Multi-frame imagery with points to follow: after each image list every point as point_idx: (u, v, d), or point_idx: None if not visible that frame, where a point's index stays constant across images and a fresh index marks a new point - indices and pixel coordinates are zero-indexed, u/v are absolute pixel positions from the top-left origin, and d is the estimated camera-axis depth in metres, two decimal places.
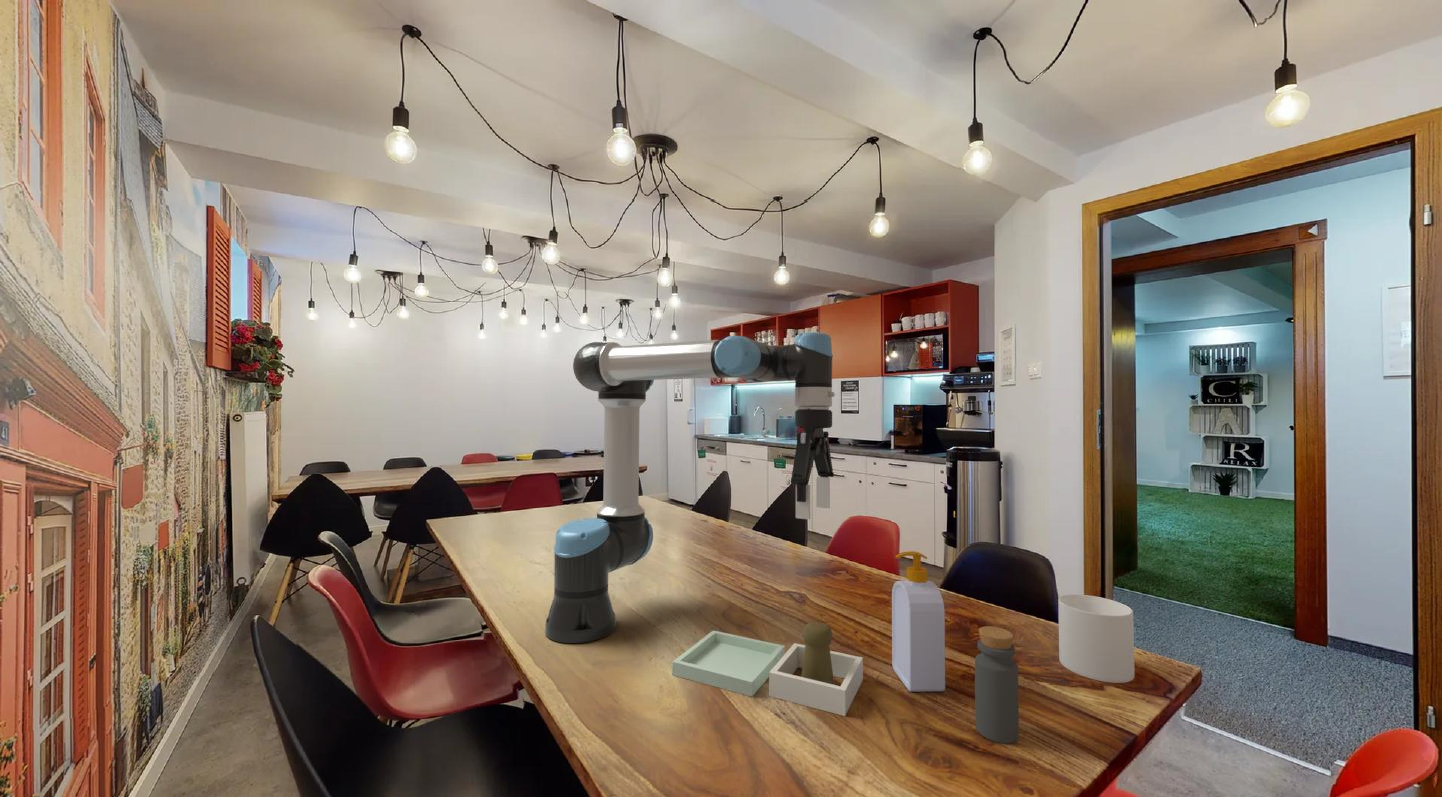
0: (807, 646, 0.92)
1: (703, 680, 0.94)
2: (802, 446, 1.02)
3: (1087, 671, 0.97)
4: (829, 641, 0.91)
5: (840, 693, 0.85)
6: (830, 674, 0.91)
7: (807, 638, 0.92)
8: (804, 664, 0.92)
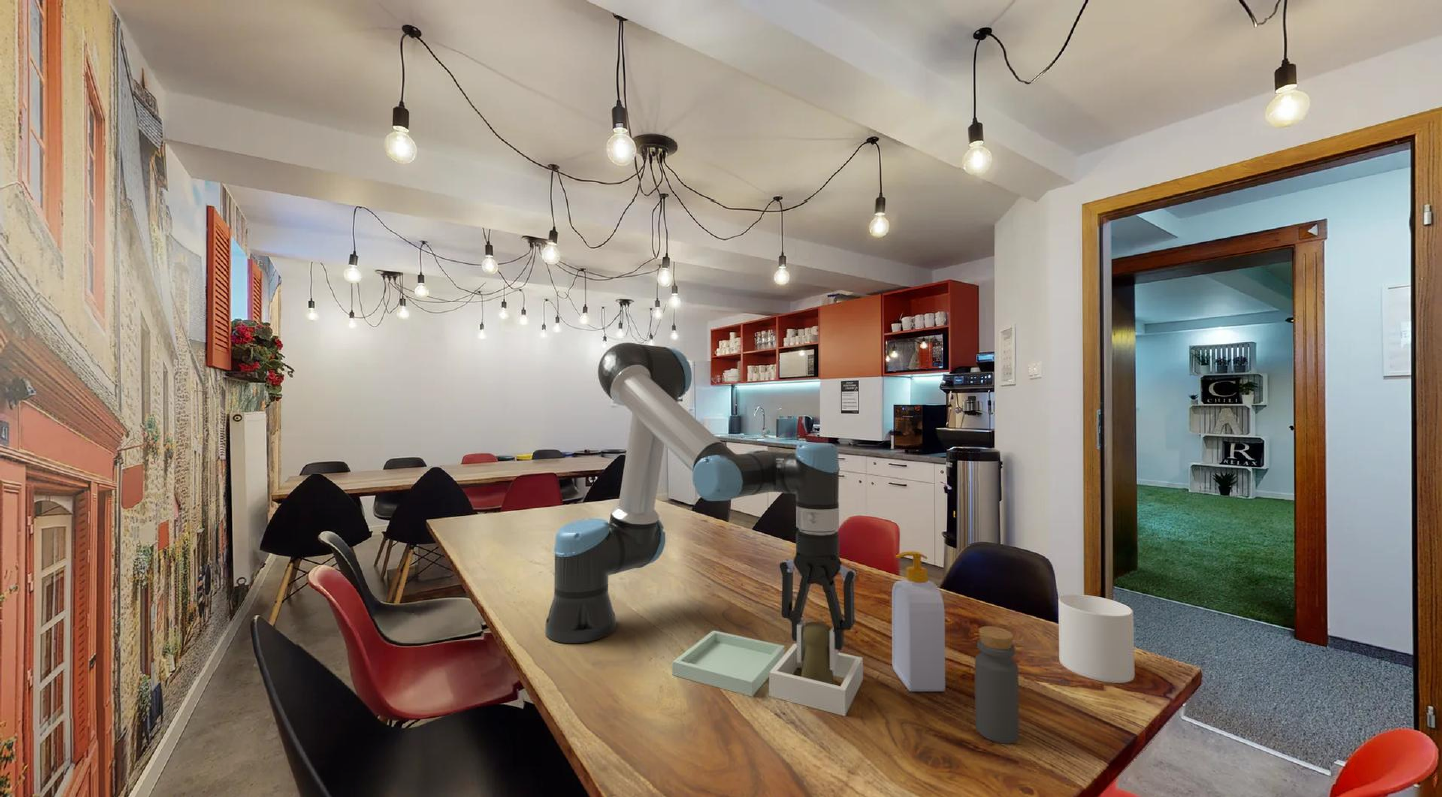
0: (807, 646, 0.92)
1: (703, 680, 0.94)
2: None
3: (1087, 671, 0.97)
4: (829, 641, 0.91)
5: (840, 693, 0.85)
6: (830, 674, 0.91)
7: (807, 638, 0.92)
8: (804, 664, 0.92)
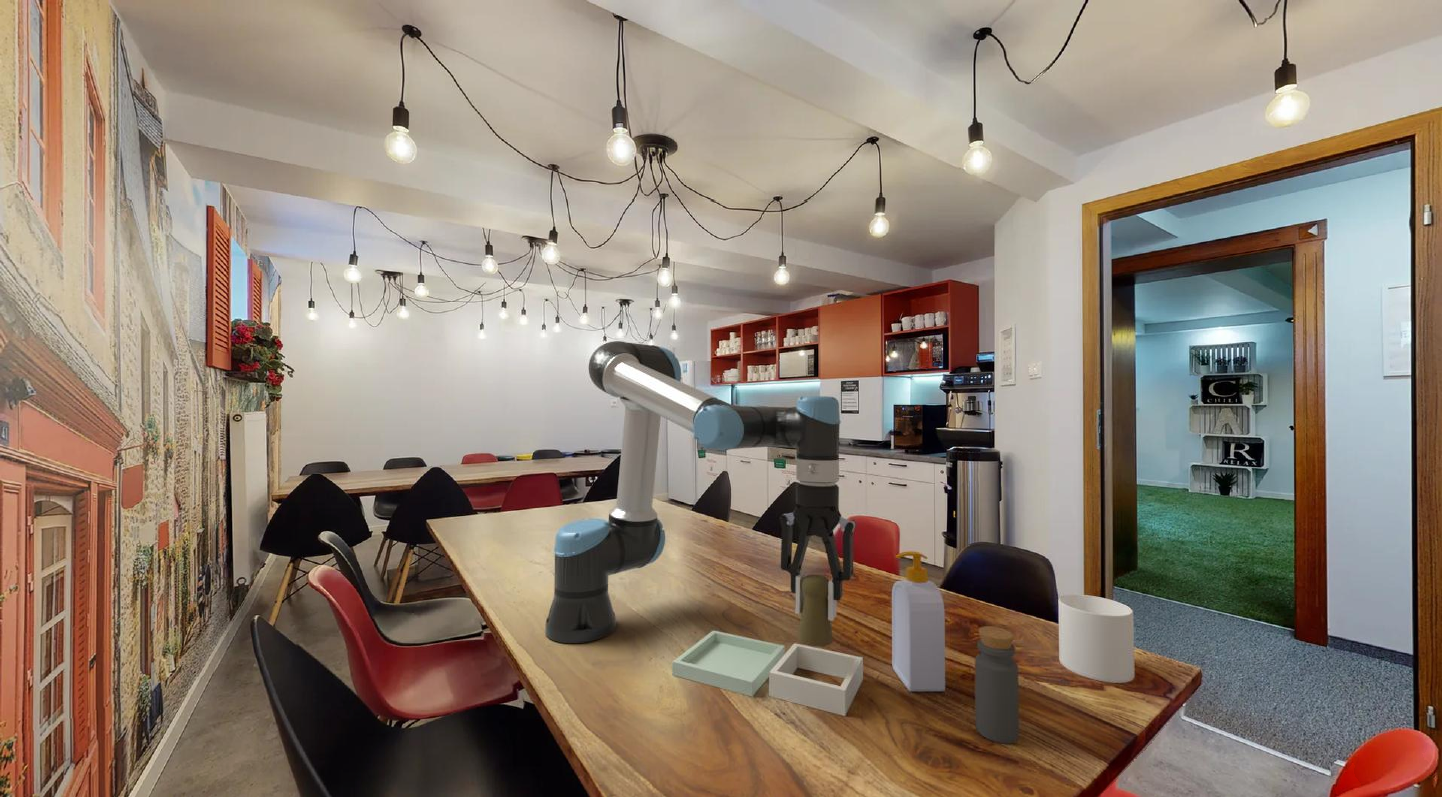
0: (806, 597, 0.93)
1: (703, 680, 0.94)
2: None
3: (1087, 671, 0.97)
4: None
5: (840, 693, 0.85)
6: (828, 625, 0.92)
7: (805, 589, 0.92)
8: (802, 615, 0.93)
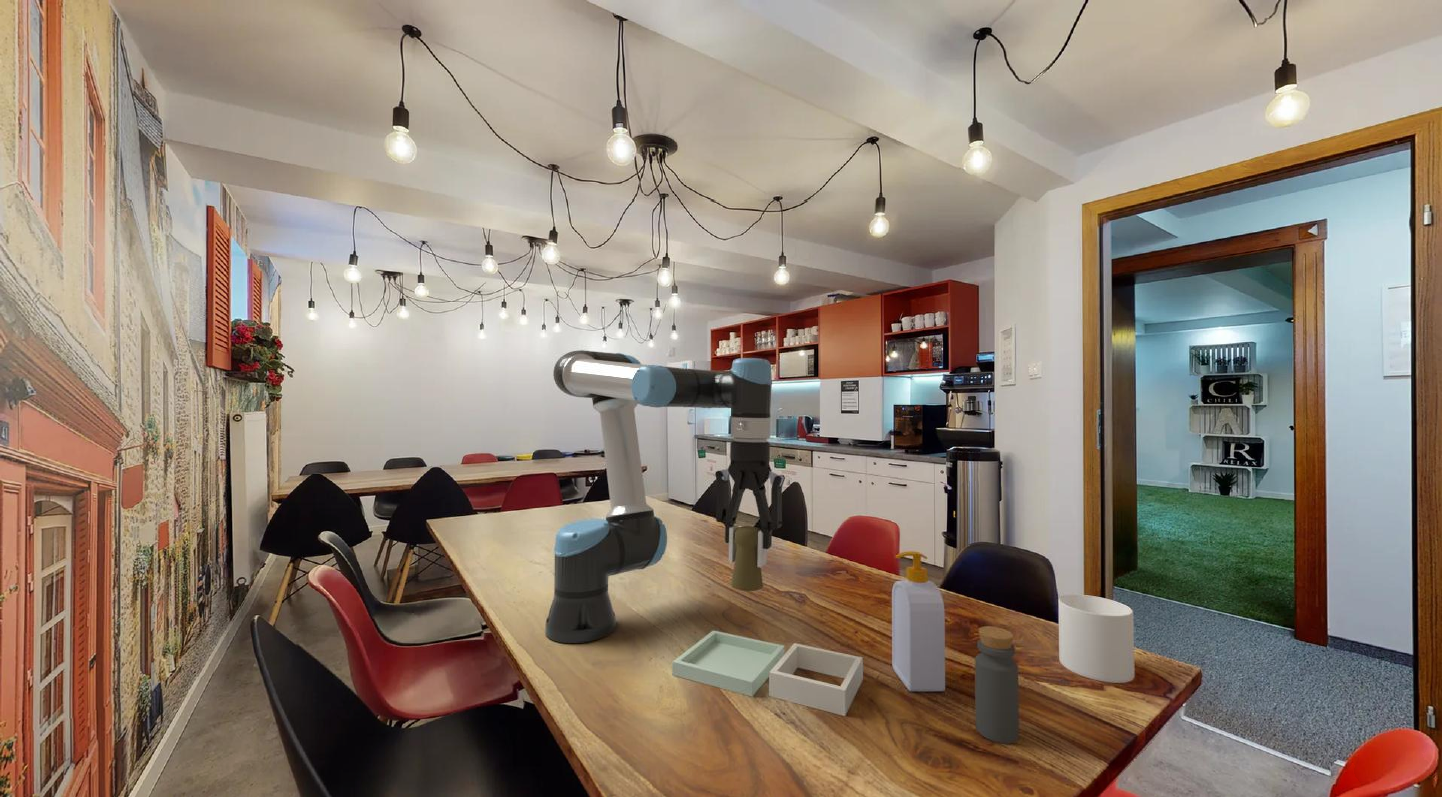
0: (738, 546, 0.99)
1: (703, 680, 0.94)
2: None
3: (1087, 671, 0.97)
4: None
5: (840, 693, 0.85)
6: (758, 571, 0.98)
7: (737, 538, 0.98)
8: (735, 563, 0.99)
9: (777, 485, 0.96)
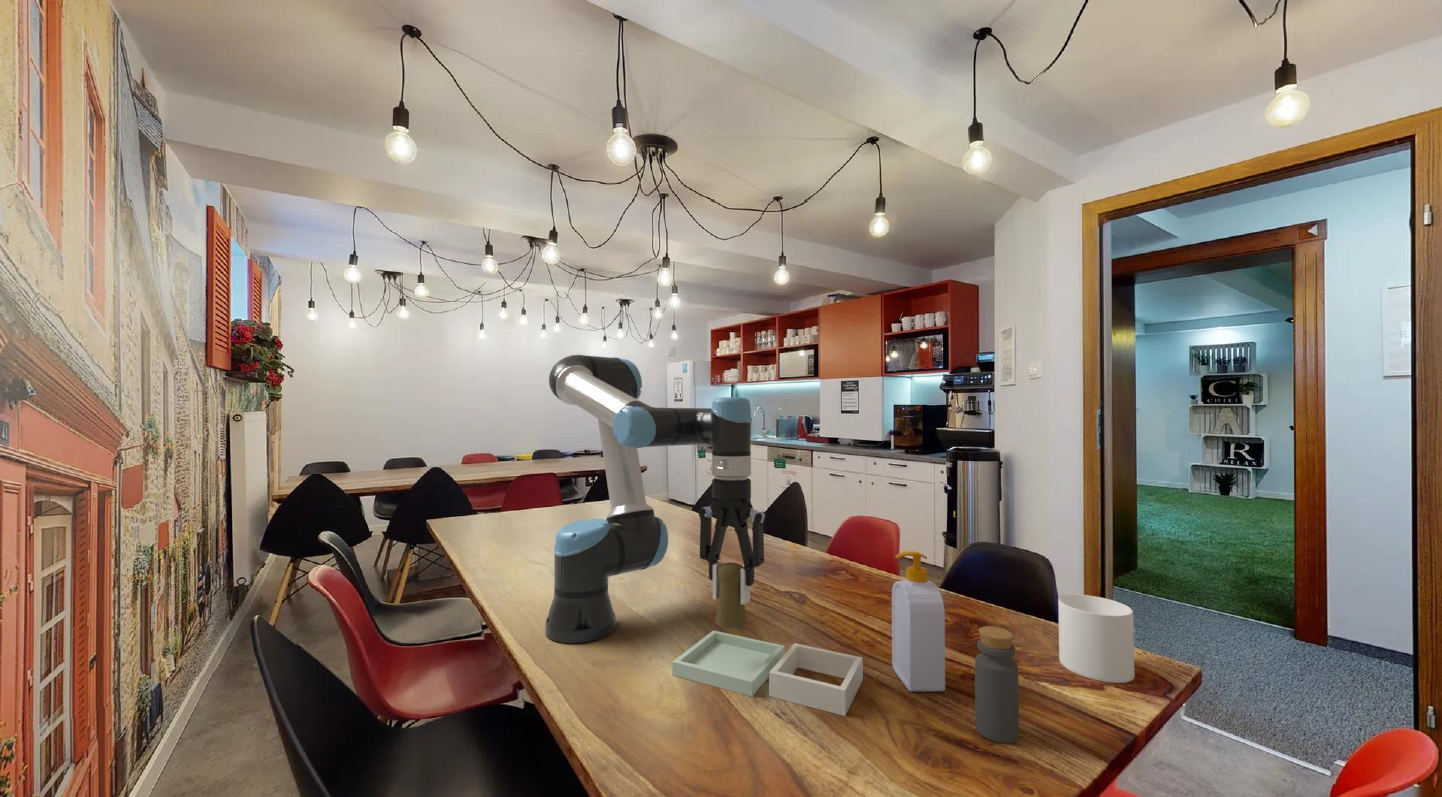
0: (721, 583, 1.00)
1: (703, 680, 0.94)
2: None
3: (1087, 671, 0.97)
4: (740, 578, 0.99)
5: (840, 693, 0.85)
6: (741, 608, 0.99)
7: (720, 575, 0.99)
8: (718, 600, 1.00)
9: (758, 522, 0.98)
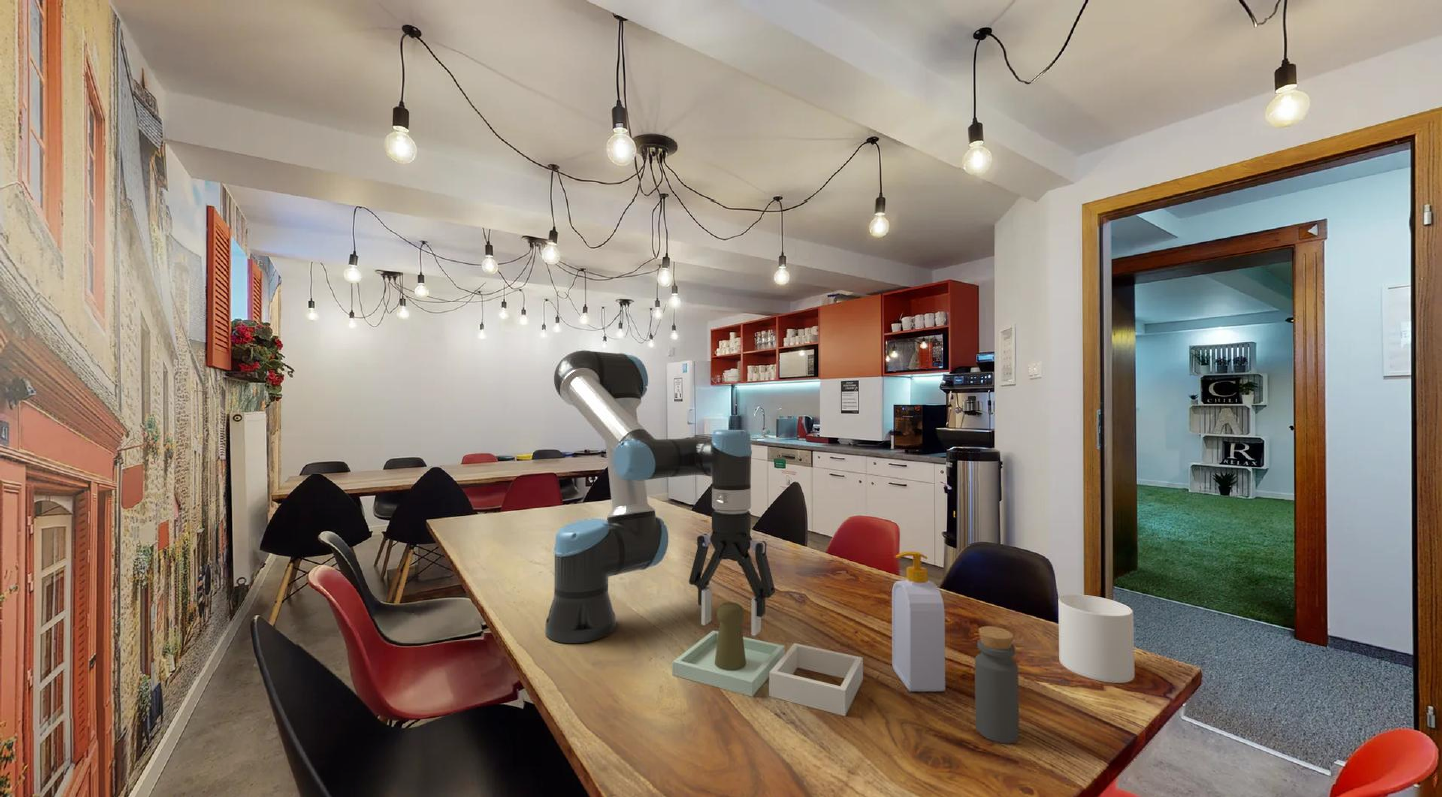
0: (720, 624, 1.00)
1: (703, 680, 0.94)
2: None
3: (1087, 671, 0.97)
4: (740, 619, 0.99)
5: (840, 693, 0.85)
6: (741, 649, 0.99)
7: (719, 616, 1.00)
8: (718, 640, 1.00)
9: (760, 552, 0.97)
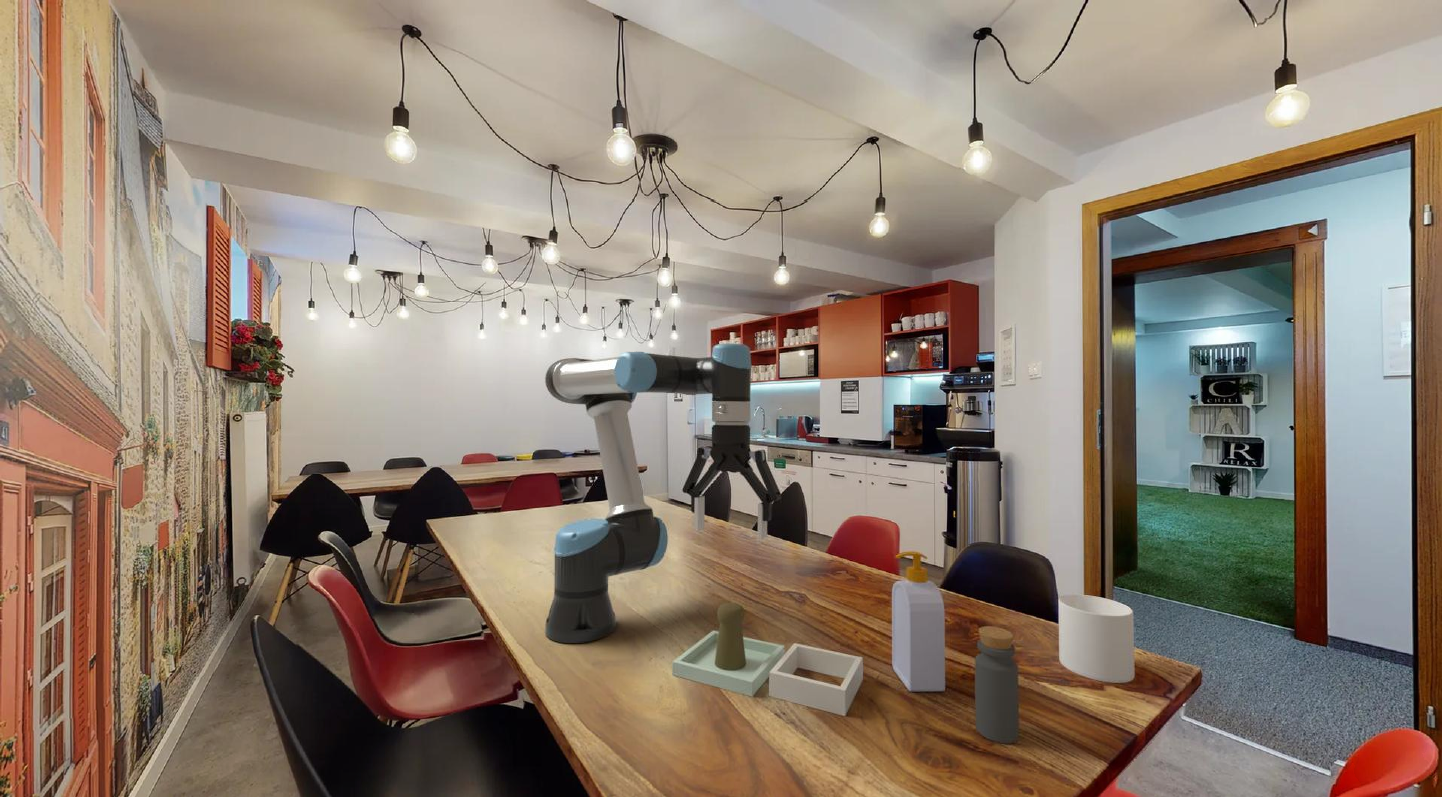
0: (720, 624, 1.00)
1: (703, 680, 0.94)
2: None
3: (1087, 671, 0.97)
4: (740, 619, 0.99)
5: (840, 693, 0.85)
6: (741, 650, 0.99)
7: (720, 617, 0.99)
8: (718, 641, 1.00)
9: (760, 459, 0.98)
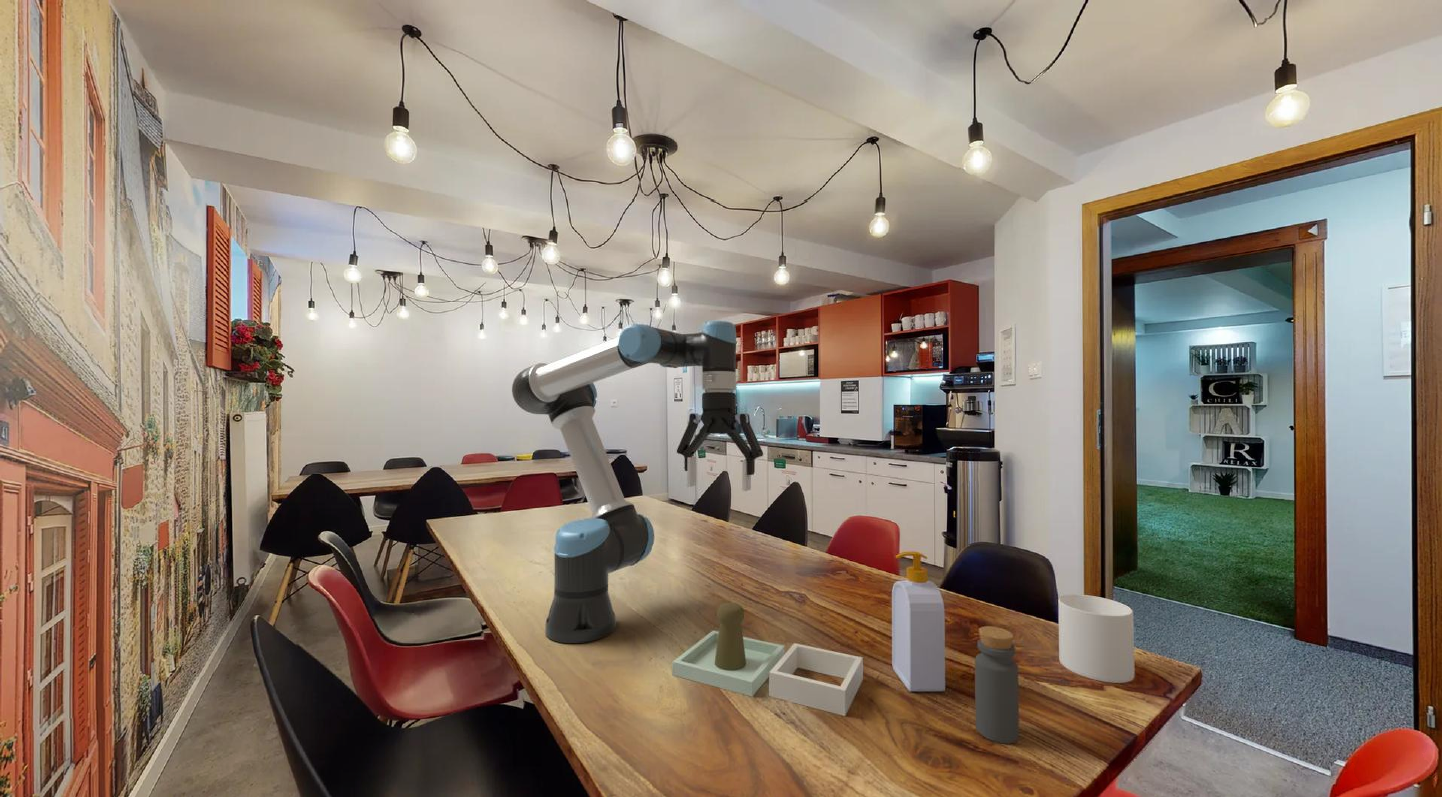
0: (720, 624, 1.00)
1: (703, 680, 0.94)
2: None
3: (1087, 671, 0.97)
4: (740, 619, 0.99)
5: (840, 693, 0.85)
6: (741, 650, 0.99)
7: (719, 617, 0.99)
8: (718, 641, 1.00)
9: (744, 421, 1.13)
